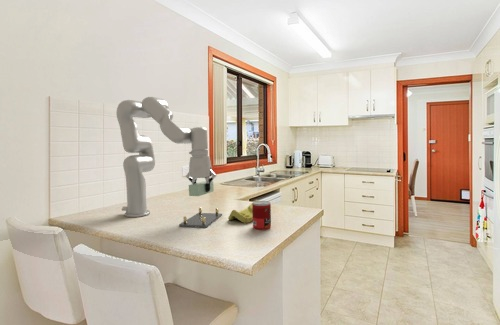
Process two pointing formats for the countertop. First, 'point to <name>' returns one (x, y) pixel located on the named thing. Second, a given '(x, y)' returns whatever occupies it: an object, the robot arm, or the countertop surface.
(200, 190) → the board block
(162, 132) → the robot arm
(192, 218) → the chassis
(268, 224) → the canned food
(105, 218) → the countertop surface
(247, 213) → the plastic component
